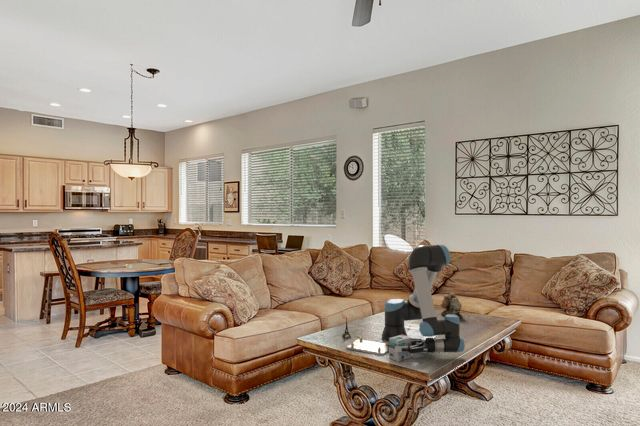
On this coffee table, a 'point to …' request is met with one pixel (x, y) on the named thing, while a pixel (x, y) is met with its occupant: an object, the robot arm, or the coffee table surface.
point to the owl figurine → (451, 305)
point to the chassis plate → (369, 347)
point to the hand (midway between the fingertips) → (392, 345)
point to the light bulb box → (399, 341)
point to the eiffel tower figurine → (346, 333)
